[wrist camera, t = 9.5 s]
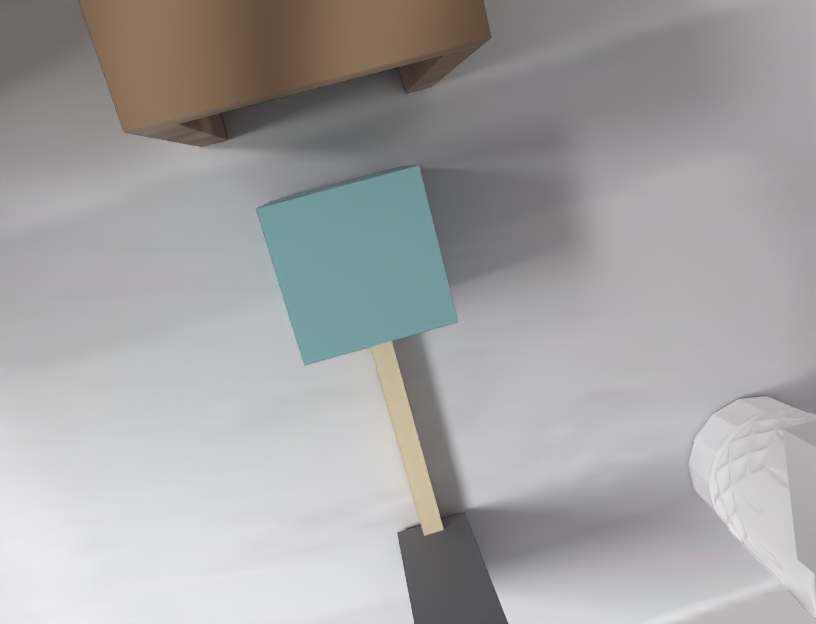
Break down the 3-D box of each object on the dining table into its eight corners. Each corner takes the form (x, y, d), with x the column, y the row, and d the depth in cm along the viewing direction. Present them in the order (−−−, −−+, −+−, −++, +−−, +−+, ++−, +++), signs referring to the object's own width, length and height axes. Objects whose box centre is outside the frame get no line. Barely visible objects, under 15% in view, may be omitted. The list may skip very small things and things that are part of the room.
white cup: (652, 499, 35) (775, 624, 25) (717, 363, 34) (874, 440, 24) (775, 541, 37) (936, 675, 27) (843, 412, 35) (1037, 503, 26)
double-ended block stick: (391, 598, 34) (419, 793, 24) (270, 201, 29) (237, 219, 19) (503, 564, 35) (580, 741, 24) (401, 166, 30) (441, 163, 19)
